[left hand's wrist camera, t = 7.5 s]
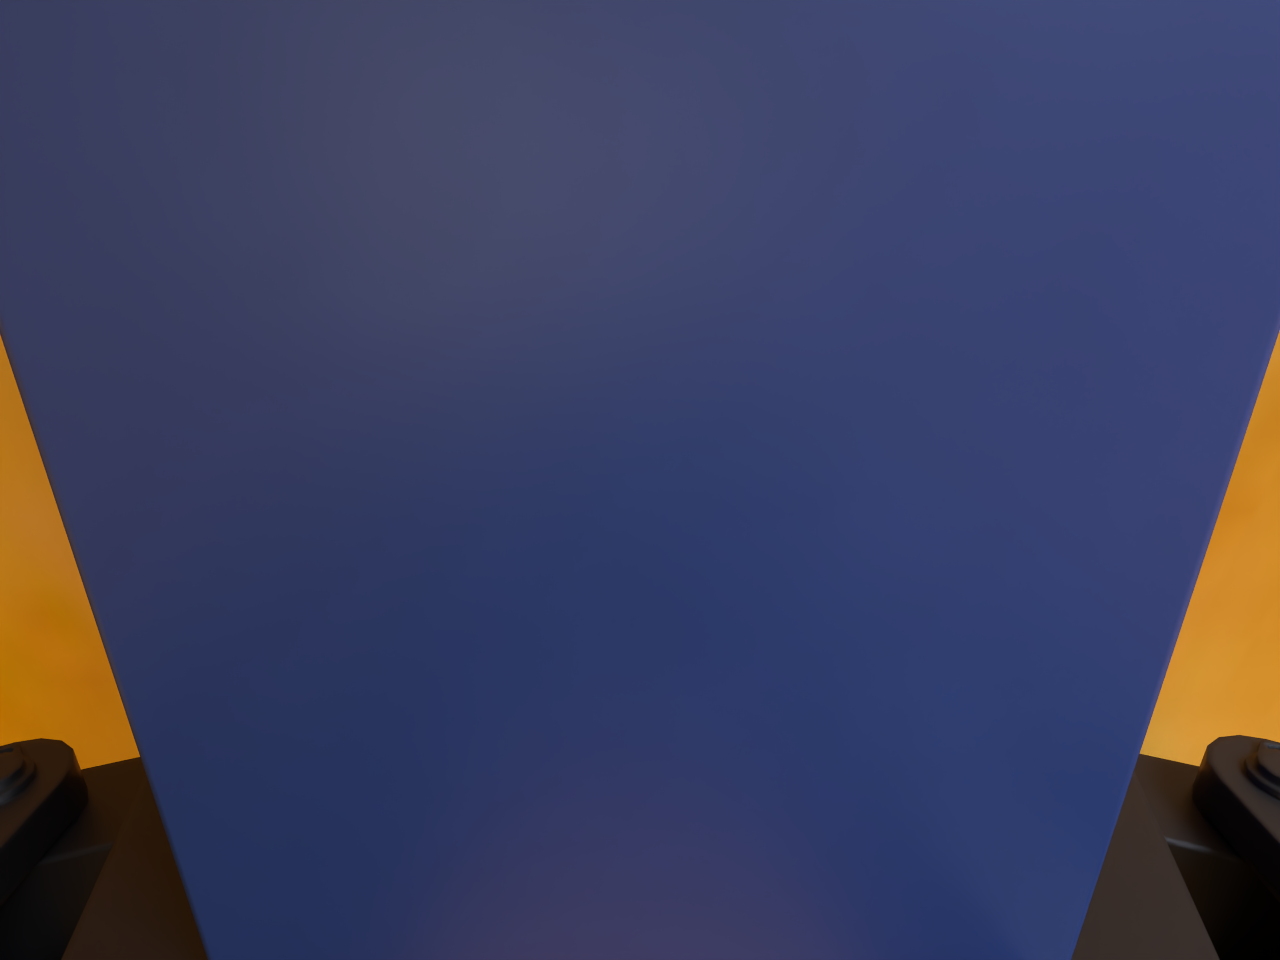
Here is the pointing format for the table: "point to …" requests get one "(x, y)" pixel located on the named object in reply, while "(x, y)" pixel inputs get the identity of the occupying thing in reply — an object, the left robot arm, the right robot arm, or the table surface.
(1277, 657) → the table surface
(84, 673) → the table surface
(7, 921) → the left robot arm
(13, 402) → the table surface
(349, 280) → the box
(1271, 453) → the table surface
